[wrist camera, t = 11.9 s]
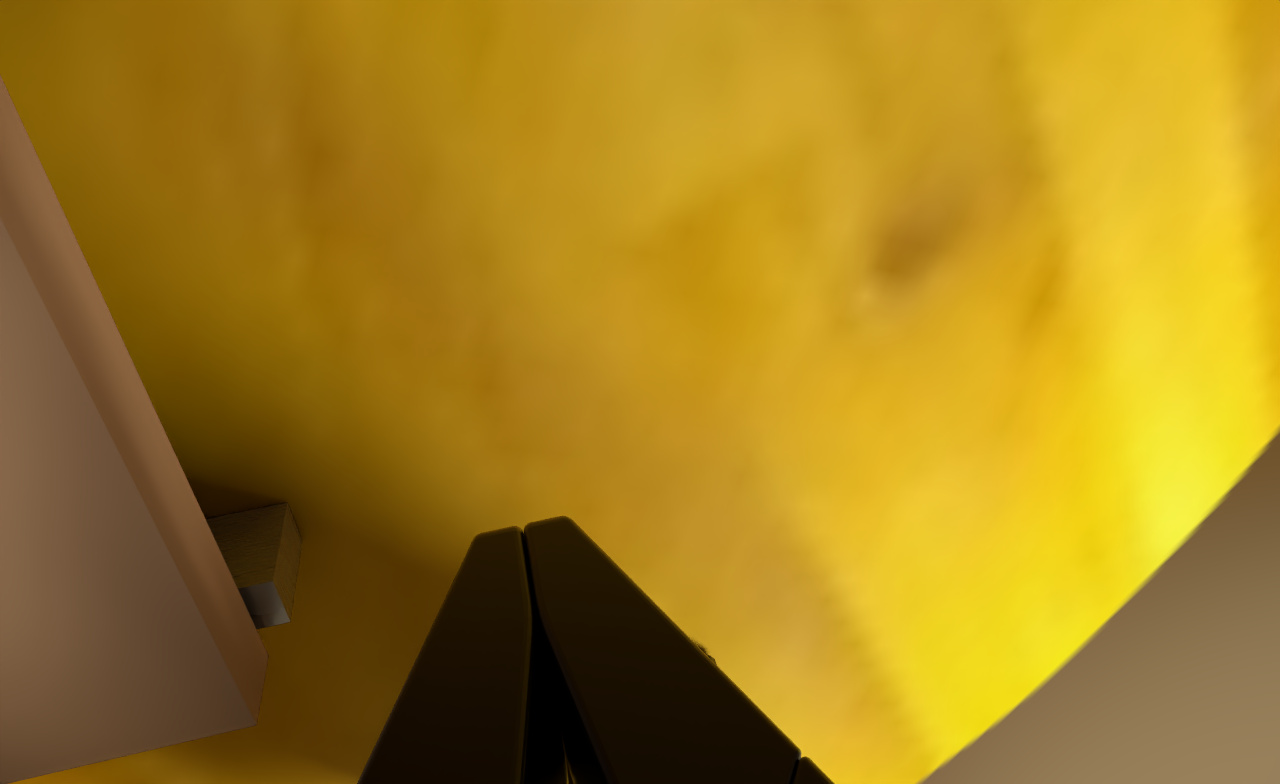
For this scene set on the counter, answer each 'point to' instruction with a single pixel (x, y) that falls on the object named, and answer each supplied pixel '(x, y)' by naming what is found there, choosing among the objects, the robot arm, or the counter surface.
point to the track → (261, 559)
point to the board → (96, 523)
